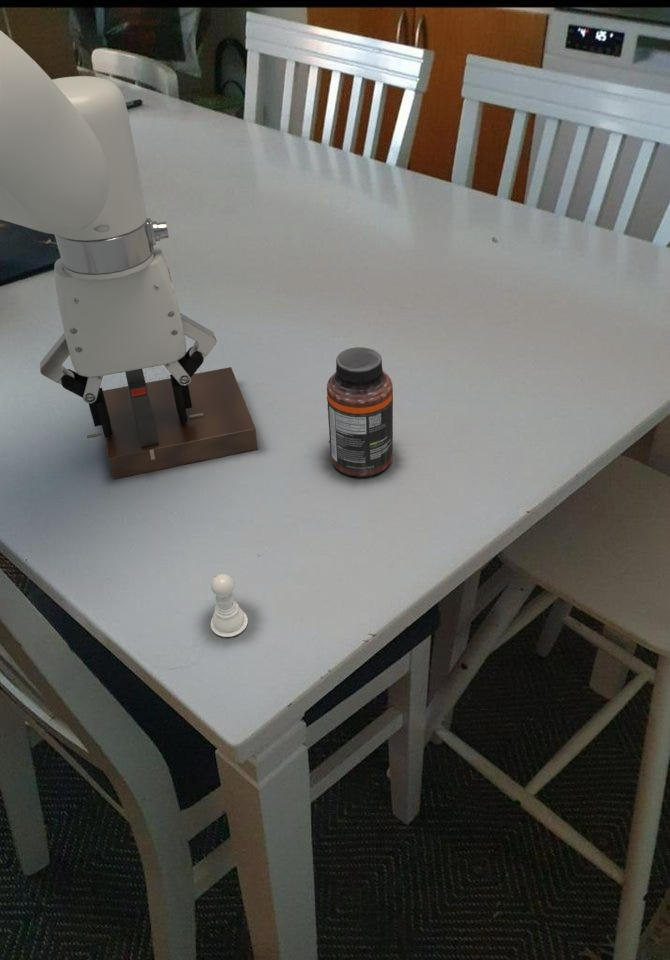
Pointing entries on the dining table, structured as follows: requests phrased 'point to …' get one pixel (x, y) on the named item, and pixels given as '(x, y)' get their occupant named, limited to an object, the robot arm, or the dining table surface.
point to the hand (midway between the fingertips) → (144, 420)
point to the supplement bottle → (360, 413)
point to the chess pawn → (226, 608)
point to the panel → (180, 425)
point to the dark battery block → (142, 408)
